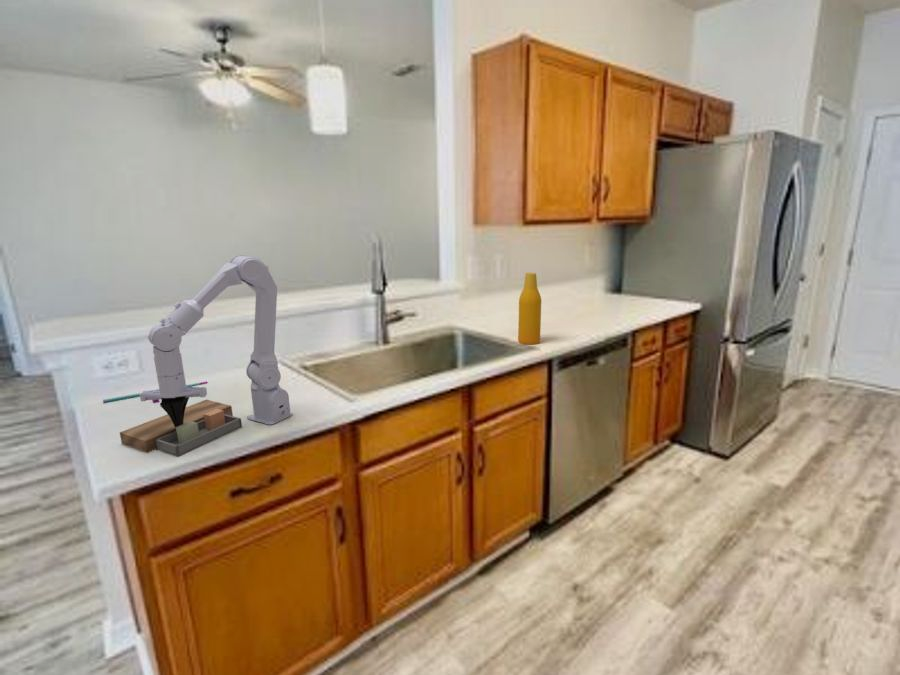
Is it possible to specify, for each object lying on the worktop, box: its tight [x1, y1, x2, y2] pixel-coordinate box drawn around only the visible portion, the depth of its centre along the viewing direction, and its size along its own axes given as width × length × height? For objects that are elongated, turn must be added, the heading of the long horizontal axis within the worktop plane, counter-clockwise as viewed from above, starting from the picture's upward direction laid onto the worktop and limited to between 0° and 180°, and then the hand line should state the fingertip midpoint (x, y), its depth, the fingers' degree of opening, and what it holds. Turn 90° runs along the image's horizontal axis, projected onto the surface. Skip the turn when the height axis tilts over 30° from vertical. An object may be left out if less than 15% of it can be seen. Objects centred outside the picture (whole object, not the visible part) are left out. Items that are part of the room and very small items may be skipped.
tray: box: [155, 414, 243, 458], centre depth 124 cm, size 8×18×2 cm, turn 152°
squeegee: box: [102, 381, 208, 404], centre depth 153 cm, size 29×2×10 cm
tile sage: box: [176, 421, 199, 443], centre depth 122 cm, size 4×4×2 cm
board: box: [119, 399, 234, 454], centre depth 130 cm, size 10×24×3 cm, turn 152°
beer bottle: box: [517, 272, 542, 346], centre depth 205 cm, size 9×9×29 cm
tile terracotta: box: [204, 409, 225, 430], centre depth 130 cm, size 4×4×2 cm
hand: (179, 425), depth 123 cm, fingers closed
